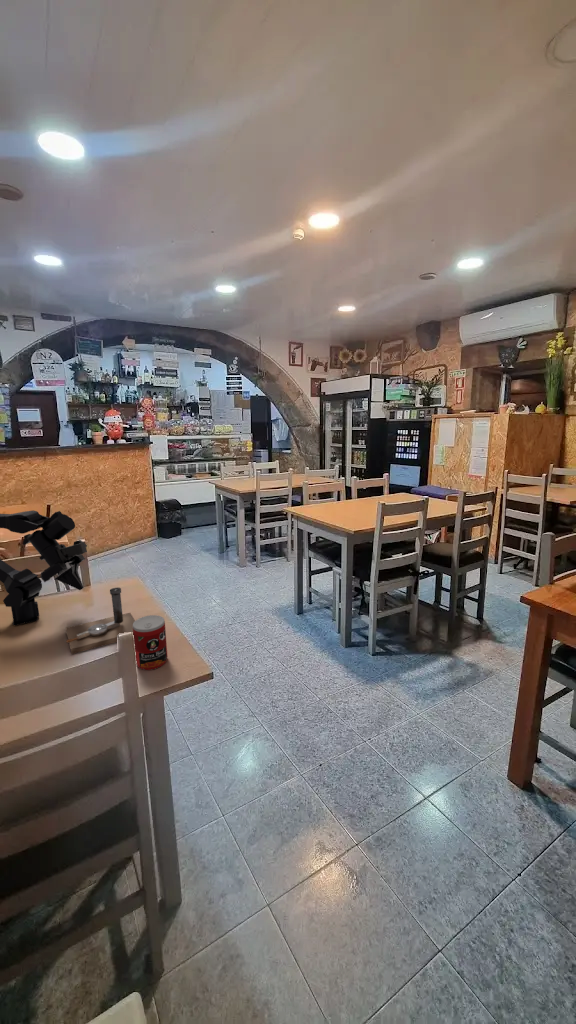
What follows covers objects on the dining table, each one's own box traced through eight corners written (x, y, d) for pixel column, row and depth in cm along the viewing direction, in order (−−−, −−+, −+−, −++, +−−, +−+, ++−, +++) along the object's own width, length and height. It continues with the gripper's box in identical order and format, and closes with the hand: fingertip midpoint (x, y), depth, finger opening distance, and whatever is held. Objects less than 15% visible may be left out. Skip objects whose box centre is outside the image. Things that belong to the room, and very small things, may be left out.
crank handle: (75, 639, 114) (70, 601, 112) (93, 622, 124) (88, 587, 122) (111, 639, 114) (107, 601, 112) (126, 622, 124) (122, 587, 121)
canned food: (138, 674, 101) (134, 632, 99) (134, 658, 108) (130, 618, 106) (170, 665, 104) (167, 625, 102) (164, 650, 111) (161, 612, 109)
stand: (68, 654, 110) (68, 649, 109) (64, 633, 121) (63, 627, 121) (141, 635, 119) (141, 629, 119) (130, 616, 131) (130, 611, 131)
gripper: (58, 535, 116) (94, 579, 117) (82, 529, 134) (113, 567, 136) (24, 559, 115) (60, 603, 117) (53, 549, 133) (84, 587, 135)
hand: (81, 589), depth 126 cm, fingers closed
